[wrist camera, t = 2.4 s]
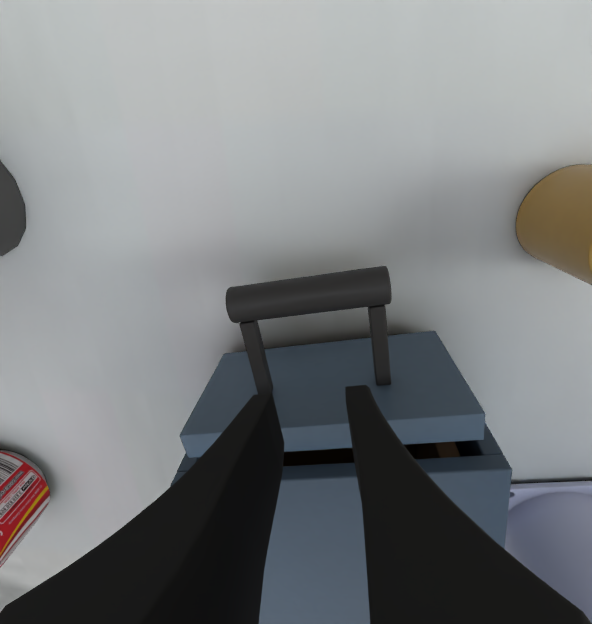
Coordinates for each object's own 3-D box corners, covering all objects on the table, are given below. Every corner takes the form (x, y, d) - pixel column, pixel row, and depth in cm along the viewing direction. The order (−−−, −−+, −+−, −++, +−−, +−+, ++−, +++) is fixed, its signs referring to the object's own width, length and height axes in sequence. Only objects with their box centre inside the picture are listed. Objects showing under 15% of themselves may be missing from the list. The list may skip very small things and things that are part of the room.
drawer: (198, 268, 17) (133, 322, 11) (433, 233, 15) (493, 276, 10) (269, 507, 24) (250, 615, 18) (438, 501, 22) (475, 618, 16)
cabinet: (225, 371, 21) (169, 486, 13) (443, 349, 19) (513, 469, 11) (270, 521, 26) (247, 662, 19) (444, 516, 24) (493, 671, 17)
